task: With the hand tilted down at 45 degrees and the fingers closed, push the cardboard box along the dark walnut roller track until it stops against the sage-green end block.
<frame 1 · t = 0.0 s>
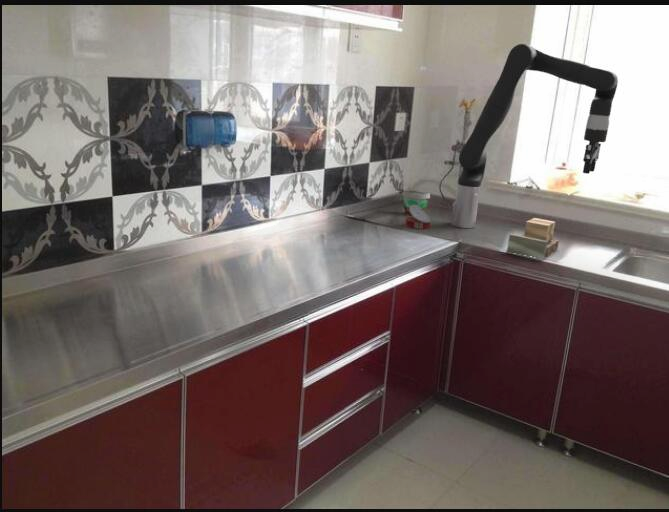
hand: (588, 172, 237), 29 cm above the counter, tool pointing down, fingers open, 8 cm apart
canned food: (417, 227, 260), on the counter
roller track: (533, 250, 238), on the counter
cardboard box: (539, 230, 239), point 7 cm above the counter, slide at 0.0 cm
food container: (413, 215, 281), on the counter
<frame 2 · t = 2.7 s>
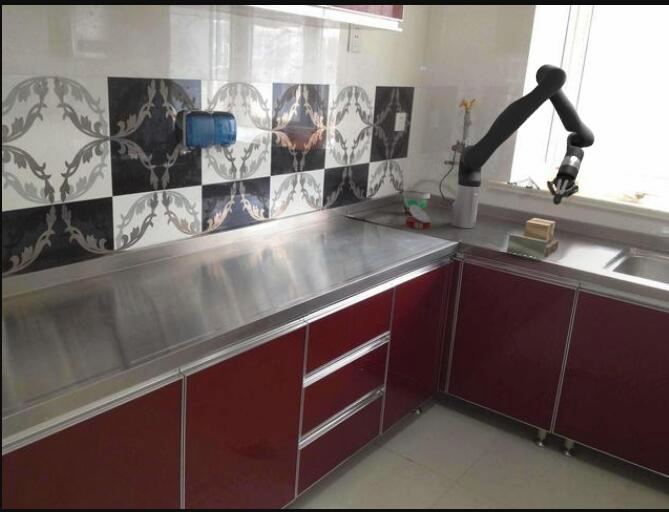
hand: (556, 203, 252), 15 cm above the counter, tool tilted 45°, fingers closed
nothing on the counter moved.
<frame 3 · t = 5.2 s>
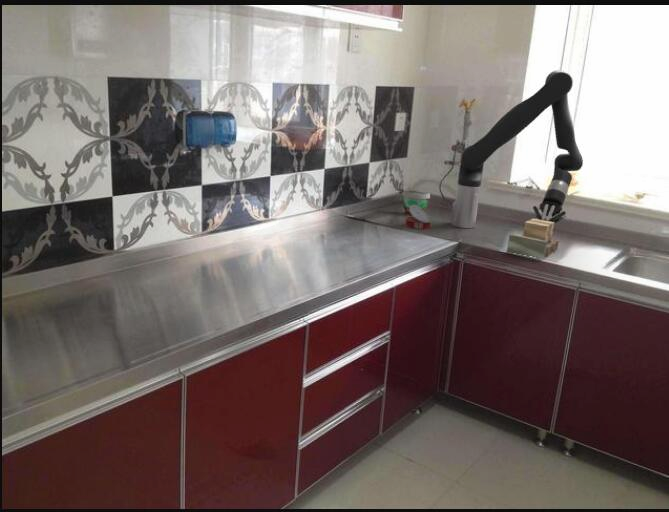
hand: (542, 229, 243), 6 cm above the counter, tool tilted 45°, fingers closed
cardboard box: (538, 231, 238), point 7 cm above the counter, slide at 1.5 cm, touching gripper
everything else where it was.
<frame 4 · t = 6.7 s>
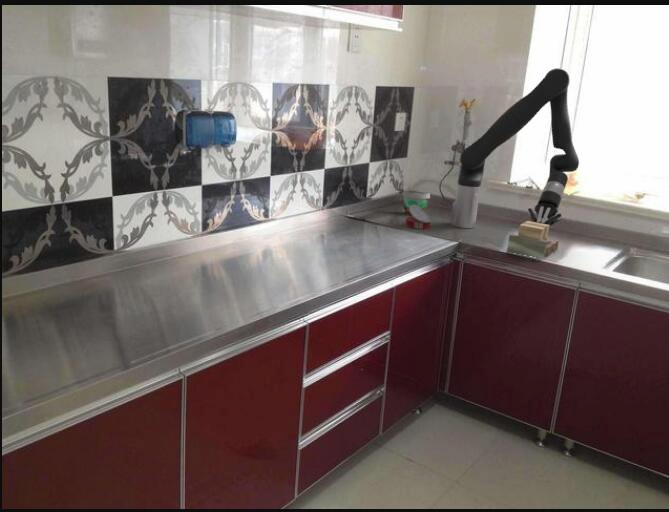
hand: (537, 232, 237), 6 cm above the counter, tool tilted 45°, fingers closed
cardboard box: (533, 234, 232), point 7 cm above the counter, slide at 8.1 cm, touching gripper
everything else where it was.
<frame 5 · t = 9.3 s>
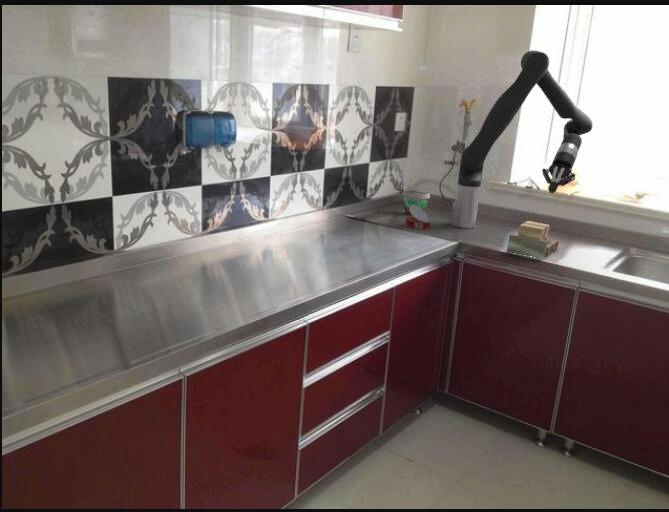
hand: (551, 191, 242), 21 cm above the counter, tool tilted 45°, fingers closed
cardboard box: (533, 234, 232), point 7 cm above the counter, slide at 8.0 cm
everything else where it was.
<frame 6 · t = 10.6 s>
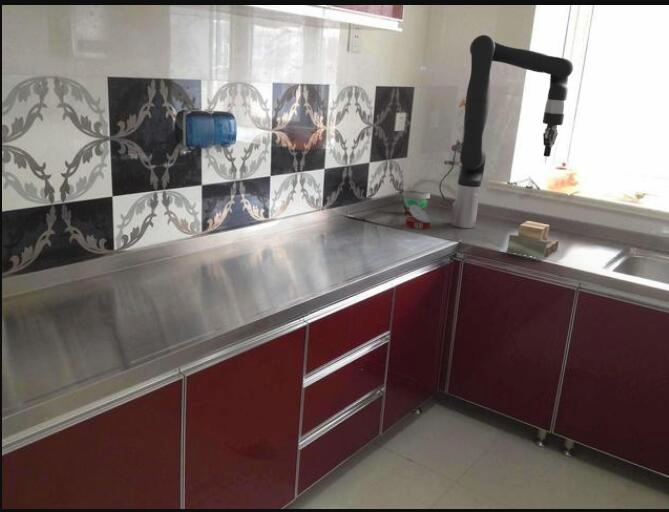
hand: (546, 156, 256), 32 cm above the counter, tool pointing down, fingers closed
nothing on the counter moved.
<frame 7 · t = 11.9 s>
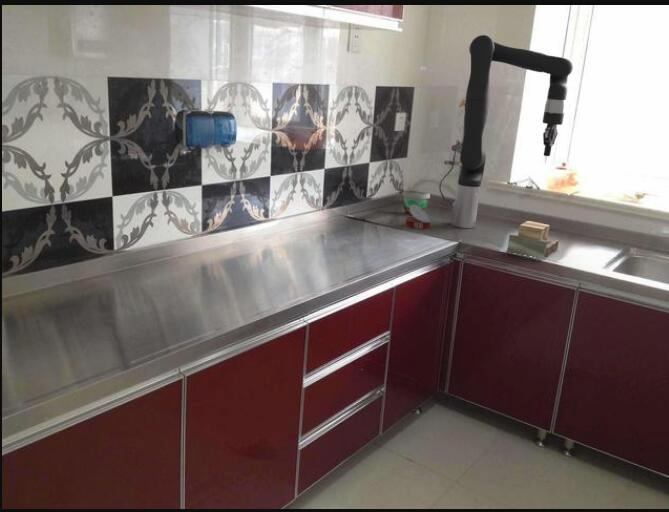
hand: (546, 155, 256), 32 cm above the counter, tool pointing down, fingers closed
nothing on the counter moved.
at the end: cardboard box slide at 8.0 cm; the gripper is holding nothing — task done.
